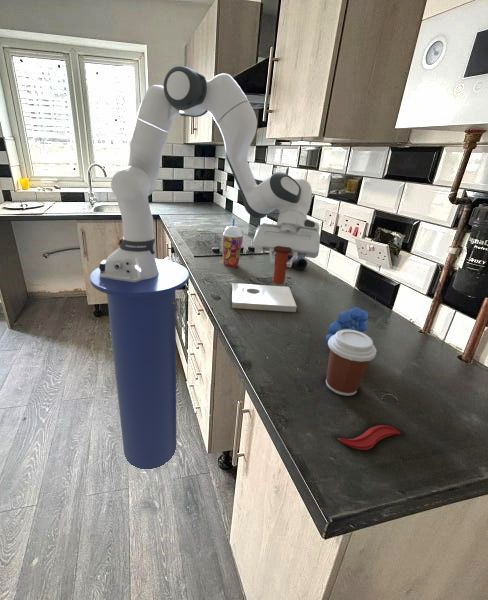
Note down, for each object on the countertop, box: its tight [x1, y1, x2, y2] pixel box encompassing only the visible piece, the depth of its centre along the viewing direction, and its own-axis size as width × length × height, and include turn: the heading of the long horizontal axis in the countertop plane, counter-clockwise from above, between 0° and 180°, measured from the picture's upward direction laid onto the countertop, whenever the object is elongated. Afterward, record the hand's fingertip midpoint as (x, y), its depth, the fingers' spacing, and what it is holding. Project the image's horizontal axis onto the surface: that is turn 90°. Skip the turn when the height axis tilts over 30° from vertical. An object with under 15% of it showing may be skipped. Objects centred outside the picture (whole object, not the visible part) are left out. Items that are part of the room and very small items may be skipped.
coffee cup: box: [325, 329, 378, 397], centre depth 67 cm, size 9×9×12 cm
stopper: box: [272, 246, 292, 285], centre depth 98 cm, size 5×5×11 cm
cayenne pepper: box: [337, 424, 401, 451], centre depth 56 cm, size 12×5×2 cm, turn 93°
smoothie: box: [222, 218, 244, 269], centre depth 134 cm, size 8×8×20 cm
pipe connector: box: [273, 253, 308, 271], centre depth 141 cm, size 12×5×15 cm
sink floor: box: [231, 283, 298, 313], centre depth 108 cm, size 20×16×2 cm
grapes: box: [325, 306, 369, 345], centre depth 80 cm, size 12×7×12 cm, turn 109°
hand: (280, 264), depth 98 cm, fingers closed on stopper, 3 cm apart
